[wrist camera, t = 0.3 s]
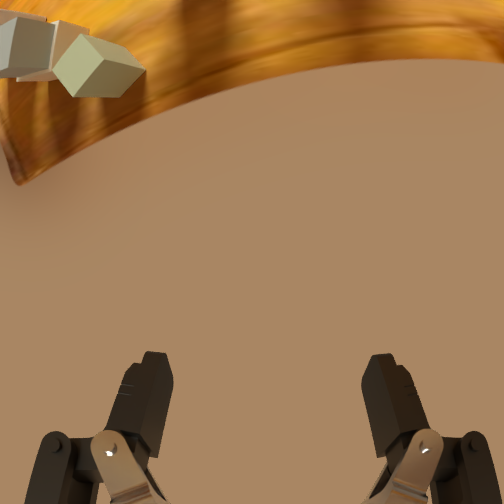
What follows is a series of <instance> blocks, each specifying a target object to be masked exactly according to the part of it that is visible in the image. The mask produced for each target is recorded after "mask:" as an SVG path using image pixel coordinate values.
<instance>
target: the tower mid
mask: <svg viewBox="0 0 504 504" xmlns="http://www.w3.org/2000/svg"><path fill="white" fill-rule="evenodd" d="M55 26H56V25H55V24H51V23H47V22H42V21H38V20H33V19H28V18H22V17H16V18H14V19H12V20H10V21H8V22H6V23H4V24H3V25H1V26H0V78H16V77H22V76H25V75H28V74H31V73H35V72H38V71H42V70H45V69H49V61H50V54H51V47H52V41H53V36H54V30H55Z"/></svg>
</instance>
